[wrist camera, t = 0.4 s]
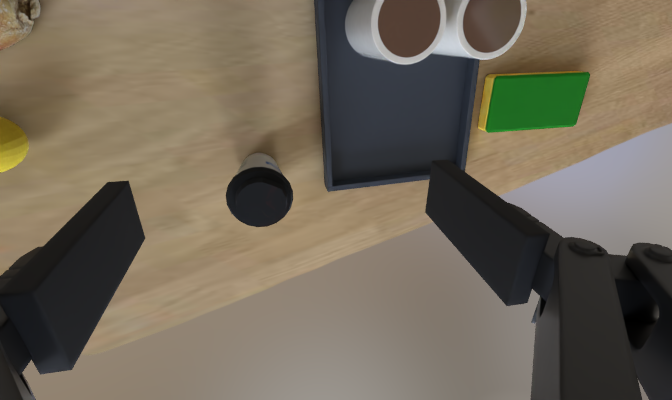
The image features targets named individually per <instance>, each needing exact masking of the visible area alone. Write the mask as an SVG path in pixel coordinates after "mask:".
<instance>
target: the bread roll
mask: <svg viewBox="0 0 672 400" xmlns="http://www.w3.org/2000/svg"><path fill="white" fill-rule="evenodd" d="M39 16H40V4H39V1H38V0H0V51H1V50H3V49H5V48H8V47H10V46H11V45H14V44H15V43H16V42H18V41H20V40H21V39H23V38H25V37H26V36H27V35H28V34H29V33H30V32H31V30H32V26H33V23H34V21H33V19H34V18H37V17H39Z"/></svg>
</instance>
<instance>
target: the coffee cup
mask: <svg viewBox="0 0 672 400" xmlns="http://www.w3.org/2000/svg"><path fill="white" fill-rule="evenodd" d="M226 200H227V205H228V207H229V209H230V211H231V213H232V214H233V215H234V216H235V217H236V218H237V219H238V220H239V221H241V222H243V223H245V224H247V225H250V226H255V227H264V226H269V225H272V224H275V223H277V222H278V221H279V220H281V219H282V218H283V217H284V216H285V215H286V214H287V212H288V211H289V210H290V208H291V205H292V201H293V191H292V188H291V186H290V183H289V181H288V180H287V179H286V178H285V177H284V176H283V174H282V173H281V171H280V169H279V167H278V165H277V164H276V162H275V161H274V159H273V158H272V157H271V156H269V155H267V154H264V153H254V154H251V155H249V156H248V157H246V158H245V160H244V161H243V163H242V164H241V166H240V168H239V170H238V172H237V174H236V176H235V177H233V179H232V180H231V182H230V184H229V185H228V188H227V192H226Z"/></svg>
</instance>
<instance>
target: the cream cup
mask: <svg viewBox="0 0 672 400" xmlns="http://www.w3.org/2000/svg"><path fill="white" fill-rule="evenodd" d="M445 25H446V6H445V2H444V0H353V2H352V3H351V5H350V6H349V8H348V11H347V14H346V19H345V31H346V36H347V39H348V41H349V43H350V45H351V46H352V48H353V49H354V50H355V51H356V52H357V53H359V54H360V55H362V56H364V57H368V58H372V59H377V60H382V61H387V62H392V63H397V64H404V65H407V64H413V63H417V62H419V61H421V60H423V59H424V58H426V57H427V56H428V55H430V54H431V53H432V52H433V51H434V49H435V48H436V47H437V45H438V44H439V42H440V40H441V38H442V36H443V33H444V29H445Z"/></svg>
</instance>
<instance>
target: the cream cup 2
mask: <svg viewBox="0 0 672 400" xmlns="http://www.w3.org/2000/svg"><path fill="white" fill-rule="evenodd" d="M444 2H445V6H446V25H445V29H444V33H443V36H442V38H441V40H440V42H439V44H438V45H437V47H436V48H435V49H434V51H433V52H432V53H431V54H435V55H445V56H454V57H463V58H472V59H481V60H487V59H492V58H495V57H497V56H500V55H501V54H503V53H504V52H506V51H507V50H508V49H509V48H510V47H511V46H512V45H513V44H514V43H515V41H516V40H517V38H518V37H519V35H520V33H521V31H522V28H523V26H524V23H525V18H526V9H527V5H526V0H444Z"/></svg>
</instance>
